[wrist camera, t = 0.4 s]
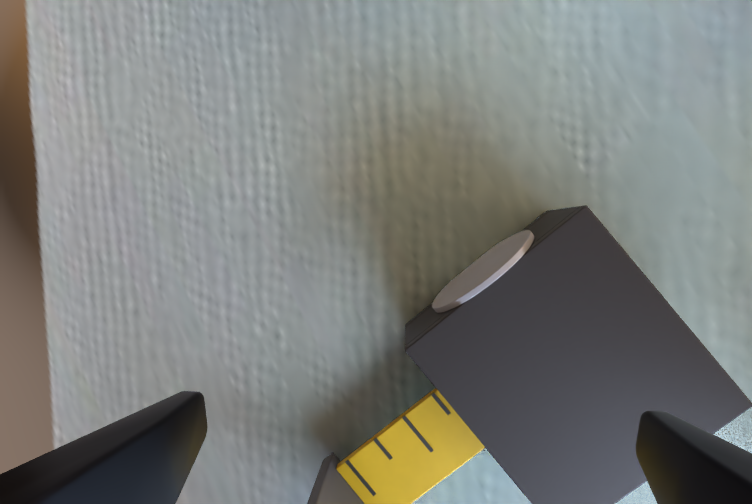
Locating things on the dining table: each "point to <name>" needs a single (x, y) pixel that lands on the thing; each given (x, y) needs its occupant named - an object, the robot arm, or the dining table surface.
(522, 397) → the tape case
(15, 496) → the robot arm
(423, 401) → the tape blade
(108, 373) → the dining table surface
